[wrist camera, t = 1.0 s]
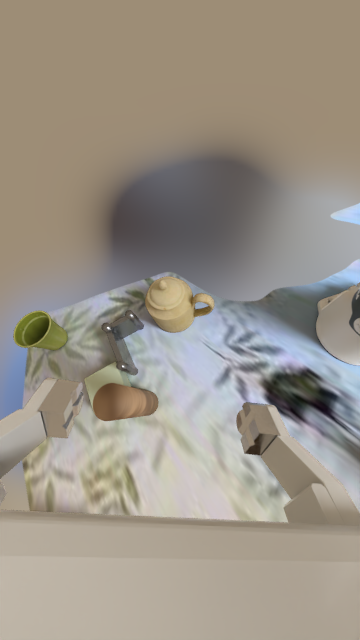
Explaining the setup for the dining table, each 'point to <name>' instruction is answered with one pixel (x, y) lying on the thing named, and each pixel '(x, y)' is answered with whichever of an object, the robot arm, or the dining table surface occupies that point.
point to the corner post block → (116, 335)
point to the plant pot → (39, 332)
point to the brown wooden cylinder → (123, 402)
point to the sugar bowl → (175, 304)
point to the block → (105, 379)
